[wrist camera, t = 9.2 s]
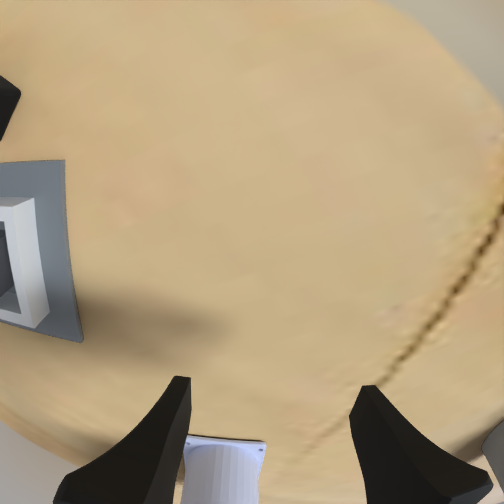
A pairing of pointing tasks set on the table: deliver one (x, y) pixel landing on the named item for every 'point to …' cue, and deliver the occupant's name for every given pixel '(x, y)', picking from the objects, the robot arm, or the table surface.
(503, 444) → the coffee mug
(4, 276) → the block
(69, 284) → the end holder
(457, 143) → the table surface
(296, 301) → the table surface
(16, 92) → the battery
